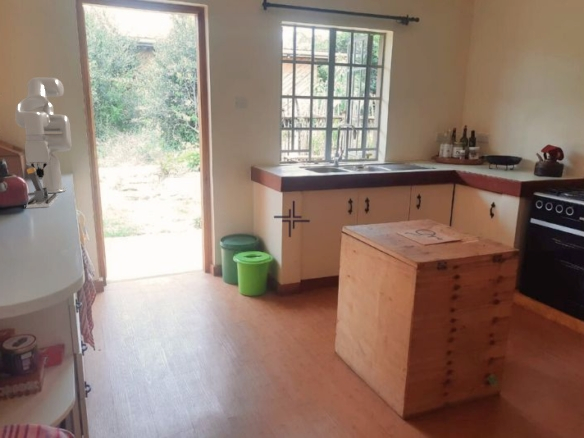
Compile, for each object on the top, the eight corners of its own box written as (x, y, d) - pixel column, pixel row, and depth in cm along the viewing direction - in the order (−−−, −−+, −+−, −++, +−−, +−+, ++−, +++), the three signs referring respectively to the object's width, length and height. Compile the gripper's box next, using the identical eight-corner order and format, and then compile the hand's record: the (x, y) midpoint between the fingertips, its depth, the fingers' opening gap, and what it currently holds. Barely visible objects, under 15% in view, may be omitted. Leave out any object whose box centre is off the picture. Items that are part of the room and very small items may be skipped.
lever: (40, 194, 222) (29, 168, 218) (45, 193, 223) (34, 166, 219) (37, 196, 216) (26, 170, 212) (43, 195, 217) (31, 168, 213)
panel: (36, 199, 230) (34, 185, 228) (58, 197, 233) (56, 184, 231) (25, 208, 208) (23, 193, 206) (49, 206, 211) (47, 192, 209)
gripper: (54, 137, 219) (59, 175, 223) (19, 138, 214) (25, 176, 219) (52, 138, 212) (56, 177, 216) (15, 139, 208) (21, 179, 212)
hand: (40, 177), depth 218 cm, fingers closed
